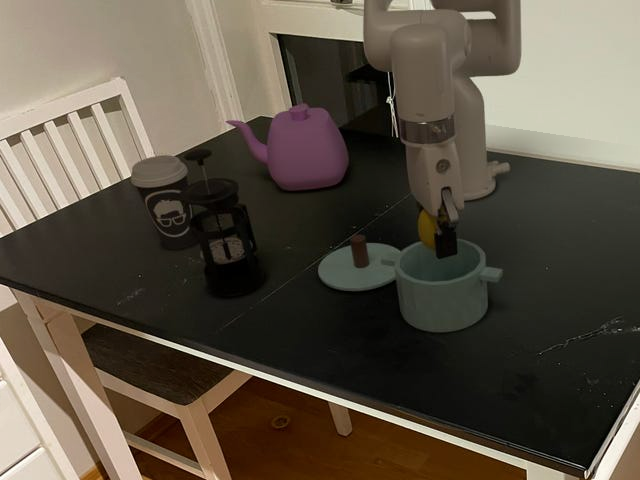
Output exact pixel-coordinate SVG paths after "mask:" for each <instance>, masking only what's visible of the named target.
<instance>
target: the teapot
mask: <svg viewBox="0 0 640 480" xmlns="http://www.w3.org/2000/svg"><path fill="white" fill-rule="evenodd" d="M225 123H226V124H228V125H230V126H232V127H235V128H236V129H237V130H238V131H239V132H240V133H241V135H242V137H243V138H244V140H245V142H246V145H247V148H248V149H249V152H250V154H251V155H252V156H253V159H255V160H256V161H257V162H259V163H260V164H262V165H264V166H266V167H267V168H268V172H269V175H270V177H271V178H272V179H273V181H274V182H275V183H276V185H277V186H278V187H279V188H280V189H282V190H285V191H304V190H313V189H314V190H315V189H321V188H327V187H333V186H335V185H337V184H339V183H340V182H341V181H342V180H343V178H344V176H345V174H346V171H347V169H348V166H349V159H350V158H349V152H348V149H347V145H346V143H345V140H344V137H343V135H342V133H341V132H340V129H339V127H338V126H337V125H336V123H335V121H334V120H333V118H332V116H331V115H330V113H329V112H328V111H327V110H326V109H325V108H323V107H309V105H308V104H307V103H300V104H298V105H297V104H296V105H293V106H291V107H289V109H288V110H284V111H283V110H282V111H280V112H278V113H276V114H275V115H274V116H273V118H272V120H271V122H270V126H269V130H268V135H267V142H266V144H264V143H261V142H260V141H259V140H258V139H257V138H256V136H255V134H254V132H253V130H252V128H251V127H250V126H249V125H248V124H247V123H246V122H245V121H242V120H236V119H235V120H234V119H232V120H231V119H230V120H225Z"/></svg>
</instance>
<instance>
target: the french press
mask: <svg viewBox="0 0 640 480" xmlns="http://www.w3.org/2000/svg"><path fill="white" fill-rule="evenodd" d="M213 154H214V151H213V150H212V149H210V148H196V149H192V150H190V151H188V152H186V153H185V154H183V159H184V160H186V161H192V162H195V161H196V163H197V165H198V166H199V167H200V169H201V172H202V173H201V174H202V176H203V179H202V180H199V181H196V182H193V183H191V184H188V186H187V187H185V188H184V189H182V191H181V192H180V194H179V198H180V200H181V201H182V202H184V203H185V207H186V208H187V206H188V204H190V205H193V206H200V207H203V208H205V209H204V210H201V211H199V212H198V213H196V214H195V215H194V216H193V217H192V218H191V219H190V220H189V223H188V226H189V229H190V232H191V234H192V235H193V236H194V237H196V238H198V241H197V242H198V243H199V247H200V253H199V257H200V258H201V260H203V262H204V263H205V266H204V268H203V275H204V277H205V281H206V289H207V291H208V293H209V294H211V295H212V296H214V297H217V298H221V299H222V298H223V299H232V298H239V297H242V296H246V295H248V294H251V293H253V292H255V291H257V290H258V289H259V288H261V286H262V285H263V283H264V282H265V274H264V272H263V271H262V268H261V264H260V260H259V258H258V257H257V256H256V255H255V253H256V252H257V251H258V247H257V243H256V239H255V235H254V230H253V227H252V223H251V219H250V216H249V212H248V209H247V205H246V204H245V203H242V202H241V203H240V201H239V200H240V197H239V193H238V191H239V190H240V186H239V183H238V182H237V181H235V180H234V179H232V178H225V177H215V178H208V177H207V174H206V172H205V168H204V166H205V159H206V160H207V159H208V158H210V157H211V156H212V155H213ZM220 215H230V216H231V220H232V224H233V225H232V226H230V227H227V228H224V229H222V226H221V222H220V218H219V216H220ZM211 217H215V220H216V224H217V227H218V230H214V231H205V229H204V226H203V223H202V221H203V220H206V219H208V218H211ZM193 227H194V228H195V230H194V229H192V228H193ZM234 235H236V237H235V236H234ZM213 240H214V241H213ZM209 241H211V242H209ZM235 272H247V273H246V274H243V275H241V276H237V277H234V278H228V279H227V278H226V279H221V278H222V277H224V276H225V275H228V274H230V273H235Z"/></svg>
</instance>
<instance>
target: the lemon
mask: <svg viewBox="0 0 640 480" xmlns="http://www.w3.org/2000/svg"><path fill="white" fill-rule="evenodd" d="M443 210H444V208H443V207H441V208H440V209H438V212H439V211H443ZM419 215H420V216H419V219H418V218H417V219H418V220H417V231H418V237H419V239H420V241H422V243H423V244H424V245H425V246H426V247H427V248H429V249H431V250H434V251H435V241H434V233H436V229H435V224H434V219H433V216H432V215H431V214H429V213H428V212H427V211H426V209H425V208H424V209H423V210H422V211H421V213H420V214H419ZM439 218H440V223H441V224H442V222H443V221H446V216H442V217H439Z"/></svg>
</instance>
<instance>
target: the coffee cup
mask: <svg viewBox="0 0 640 480" xmlns="http://www.w3.org/2000/svg"><path fill="white" fill-rule="evenodd" d="M188 173H189V169H188V168H187V166H186V165H185V163H184V162H182V161H181V160H180V159H179V157H178V156H175V155H167V154H163V155H155V156H150V157H147V158H144V159H141V160H139V161H137V162H136V163H134V164H133V166H132V167H131V174H130V183H131V184H132V185H133V186H135V187H136V189H137V191H138V193H139V195H140V198H141V200H142V202H143V204H144V206H145V209H146V210H147V213H148V215H149V217H150V220H151V221H152V223H153V225H154V228H155V230H156V231H157V234H158V237H159V239H160V241H161V243H162V245H163V247H164V248H165V249H168V250H182V249H186V248H189V247H192V246H193V245H195V244H197V243H198V242H199V241H198V238H196V237H194V236H193V235H192V234H191V232H190V229H189V226H188V223H189V220H190V219H191V218H192V217H193V216H194V215H196V214H195V210H194V205H190V204H188V206H187V208H186V207H185V203H184V202H182V201H181V200H180V198H179V194H180V192H181V191H182V189H184V188H185V187H187V186H188V185H189V183H188V182H189V181H188V177H187V175H188ZM192 229H194V230H195V228H194V227H193V228H192Z"/></svg>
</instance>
